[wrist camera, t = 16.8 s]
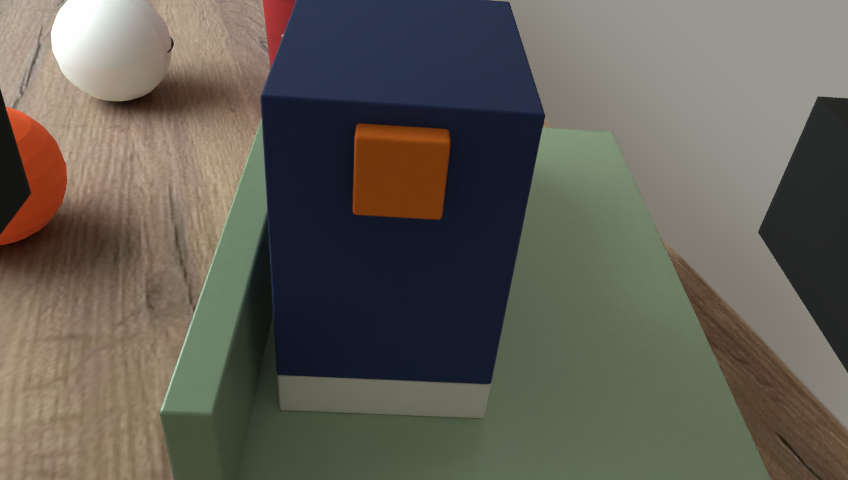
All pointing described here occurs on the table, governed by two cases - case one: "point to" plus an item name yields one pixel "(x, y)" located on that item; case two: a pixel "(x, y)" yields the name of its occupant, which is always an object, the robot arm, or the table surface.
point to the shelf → (514, 368)
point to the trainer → (395, 201)
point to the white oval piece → (112, 47)
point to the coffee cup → (276, 23)
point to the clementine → (36, 177)
